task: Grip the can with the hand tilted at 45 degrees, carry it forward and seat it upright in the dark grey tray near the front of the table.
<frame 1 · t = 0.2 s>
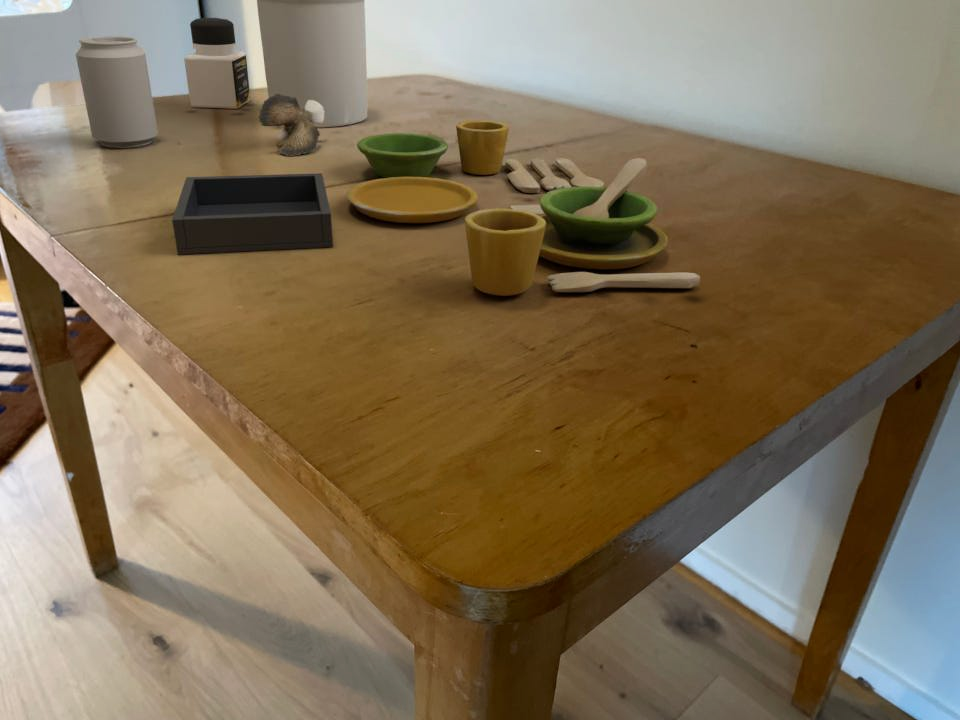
can: (127, 143, 96), on the table
utensil holder: (318, 119, 113), on the table
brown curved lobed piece: (293, 148, 97), on the table
medicine bottle: (221, 105, 119), on the table
tableware set: (492, 218, 76), on the table
dark grey tray: (257, 226, 71), on the table
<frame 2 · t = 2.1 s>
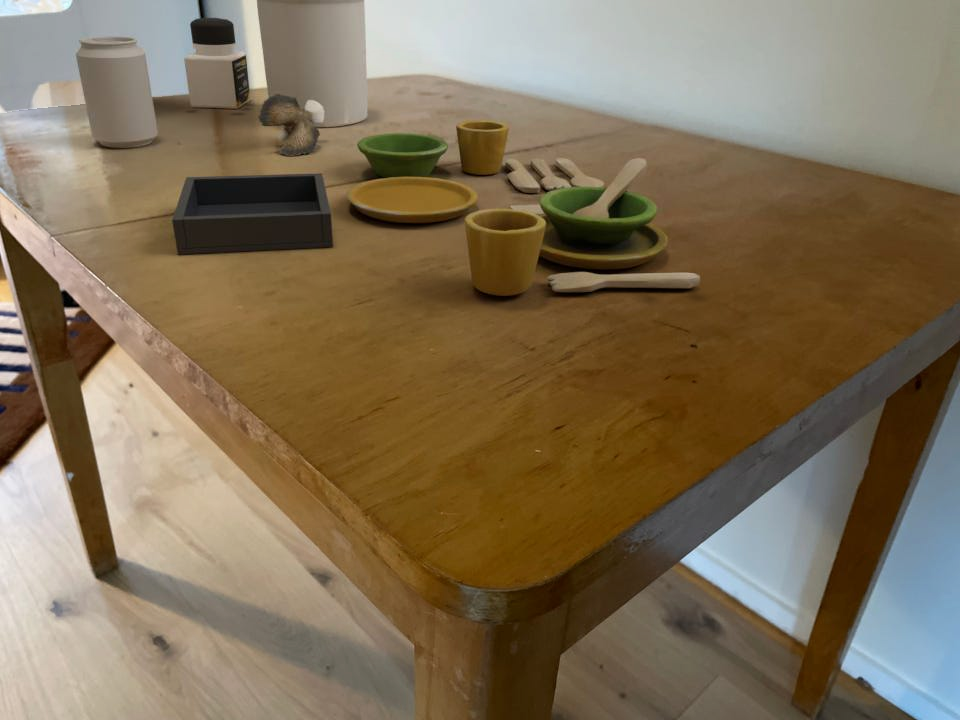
nothing on the table moved.
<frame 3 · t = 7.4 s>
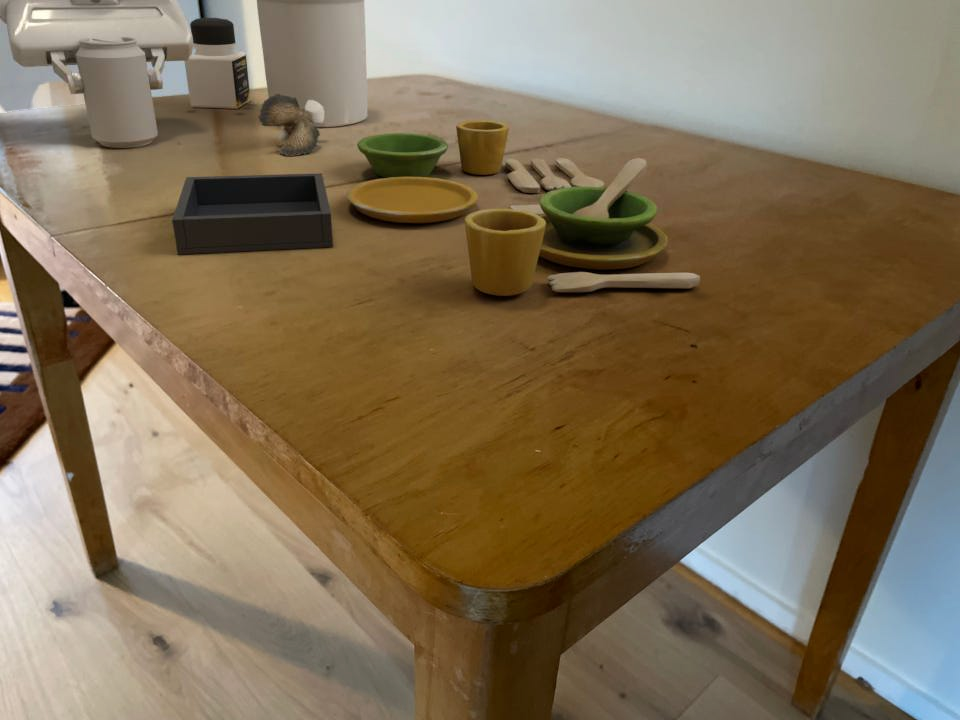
hand: (118, 88, 93), 6 cm above the table, tool tilted 45°, fingers closed on can, 7 cm apart
can: (127, 143, 96), on the table, touching gripper
everything else where it was.
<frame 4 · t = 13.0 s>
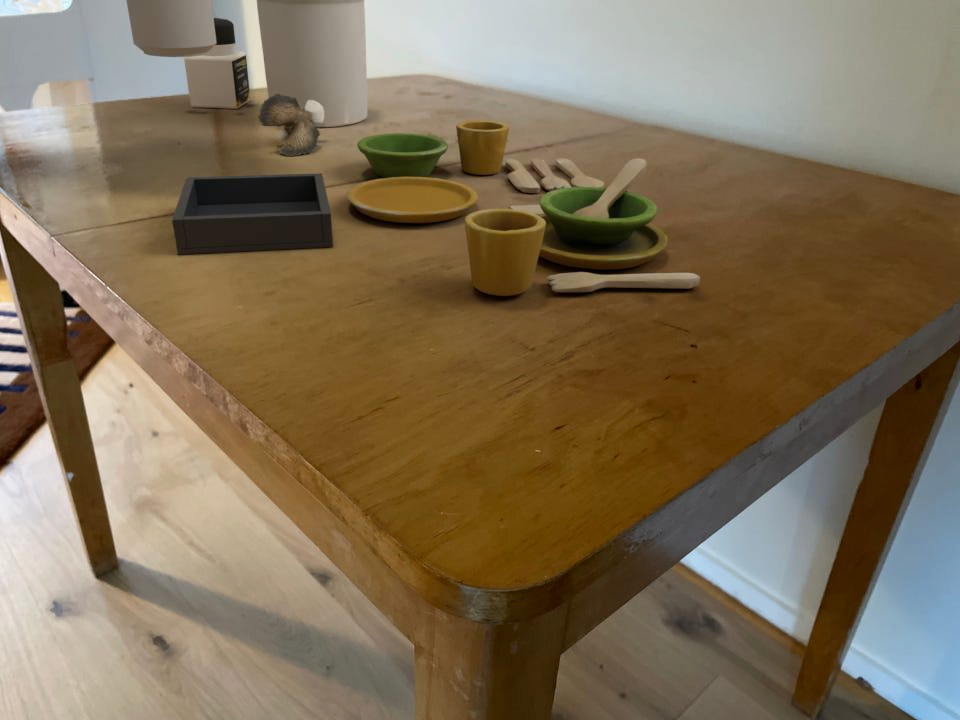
can: (177, 54, 75), point 13 cm above the table, touching gripper
everything else where it was.
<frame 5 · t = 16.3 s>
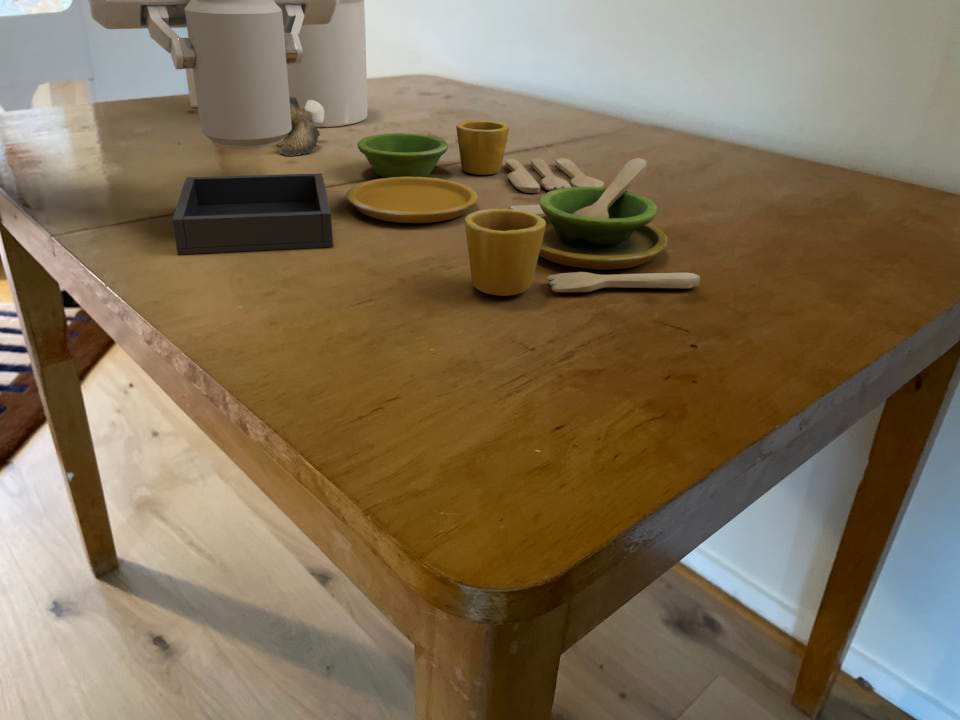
hand: (242, 62, 64), 14 cm above the table, tool tilted 45°, fingers closed on can, 7 cm apart
can: (248, 142, 67), point 8 cm above the table, touching gripper
everything else where it was.
when the fingers open (7 cm above the table, at t = 19.0 s): can stays where it is, resting on dark grey tray.
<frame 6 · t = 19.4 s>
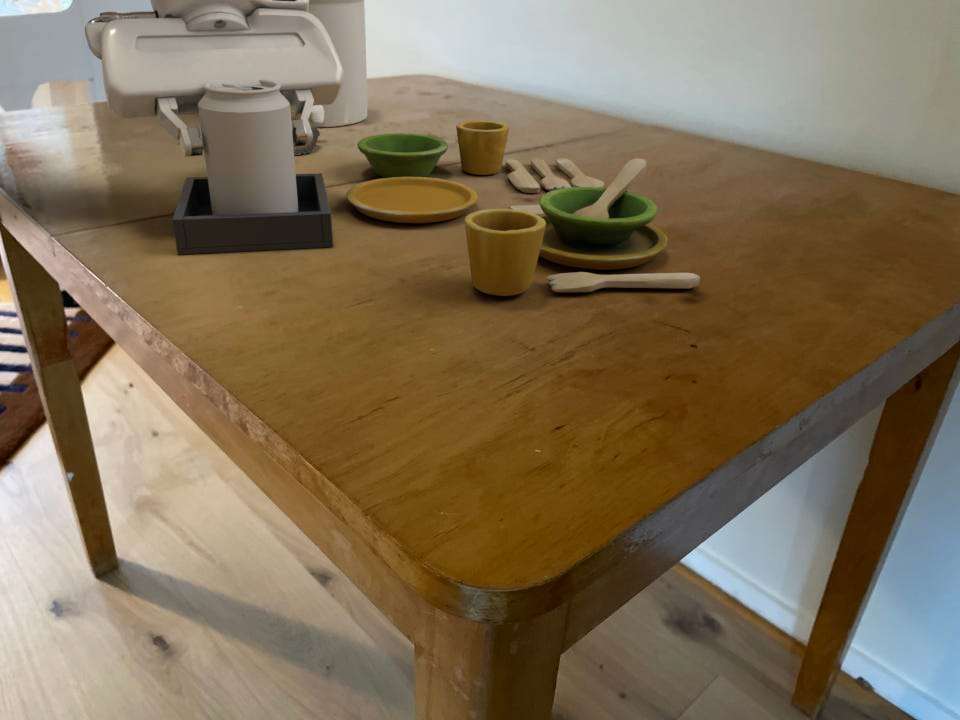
hand: (250, 147, 67), 7 cm above the table, tool tilted 45°, fingers open, 8 cm apart
can: (257, 223, 71), resting on dark grey tray
everything else where it was.
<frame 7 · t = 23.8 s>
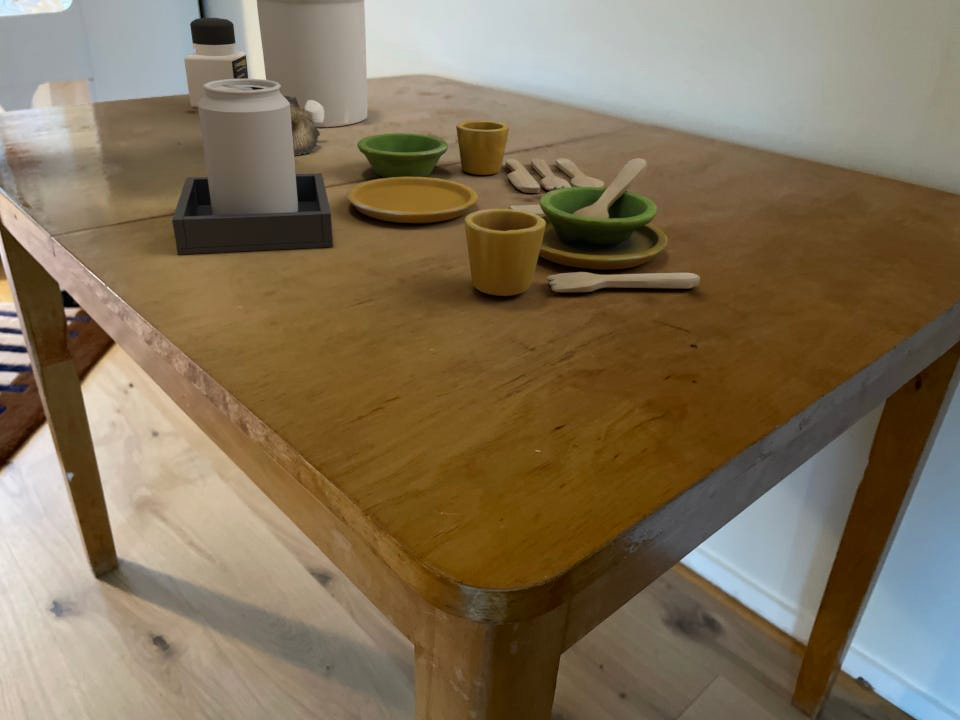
nothing on the table moved.
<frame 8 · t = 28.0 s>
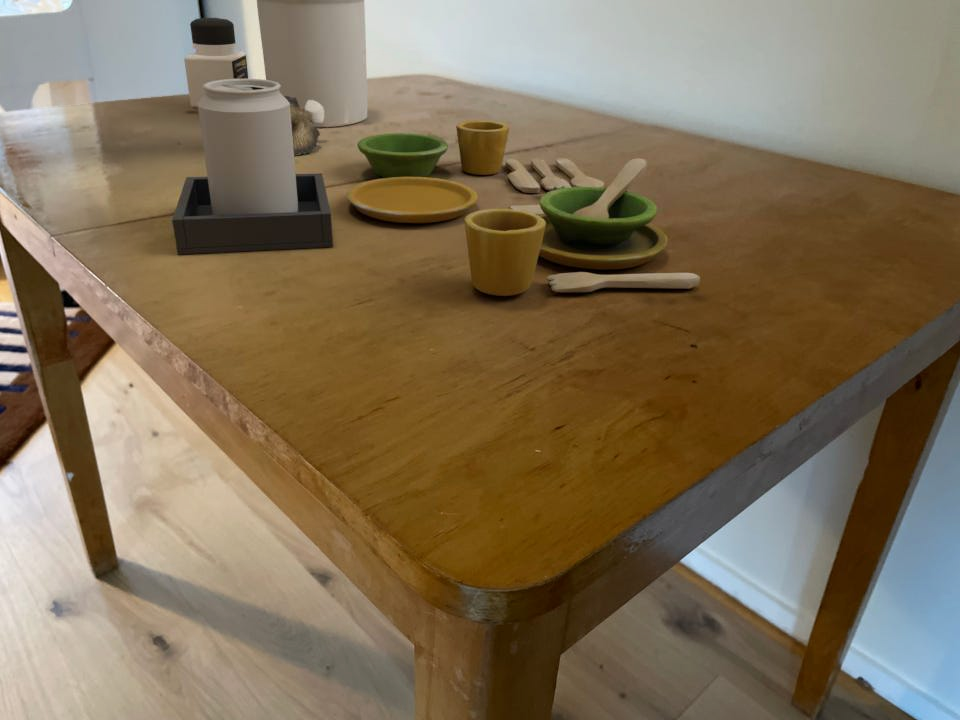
nothing on the table moved.
at the end: can 0.0 cm off-centre in the dark grey tray, point 0.3 cm above the dark grey tray's base; can tilted 0°; the gripper is holding nothing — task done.
